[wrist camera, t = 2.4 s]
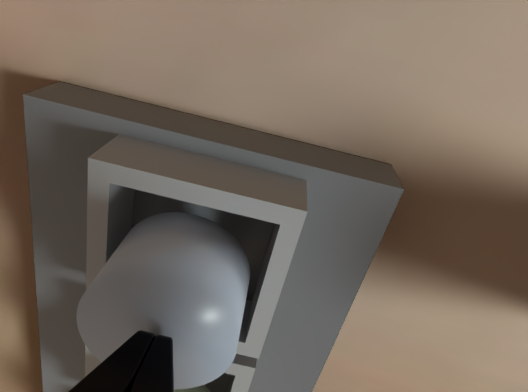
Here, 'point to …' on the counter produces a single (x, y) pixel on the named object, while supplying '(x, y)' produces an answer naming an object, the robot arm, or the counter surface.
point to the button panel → (205, 205)
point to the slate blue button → (171, 294)
